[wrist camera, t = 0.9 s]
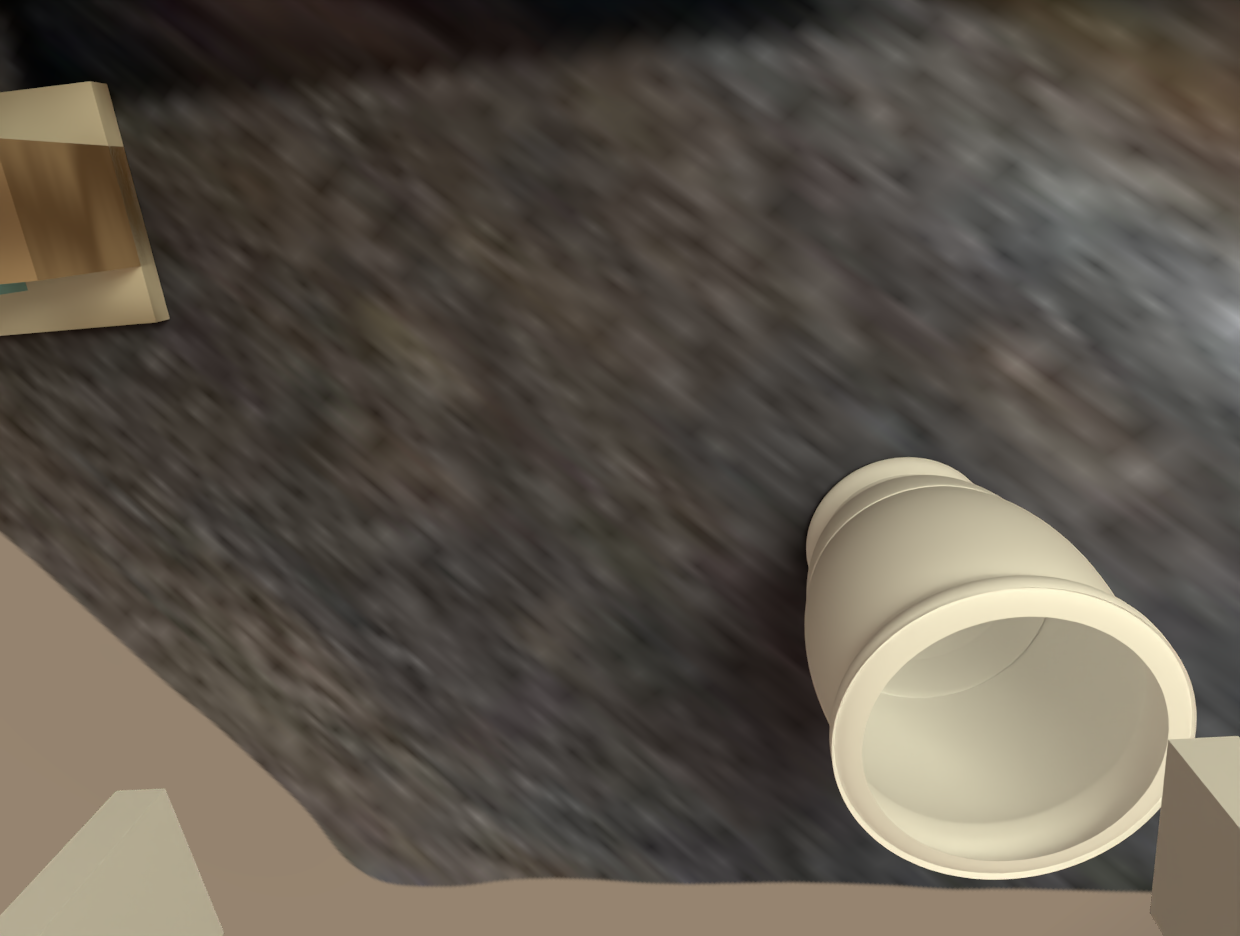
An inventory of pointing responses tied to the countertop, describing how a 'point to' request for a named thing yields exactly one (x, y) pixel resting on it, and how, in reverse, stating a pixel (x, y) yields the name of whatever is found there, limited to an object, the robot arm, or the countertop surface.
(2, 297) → the rail
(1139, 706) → the jar
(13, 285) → the sleeve
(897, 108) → the countertop surface
